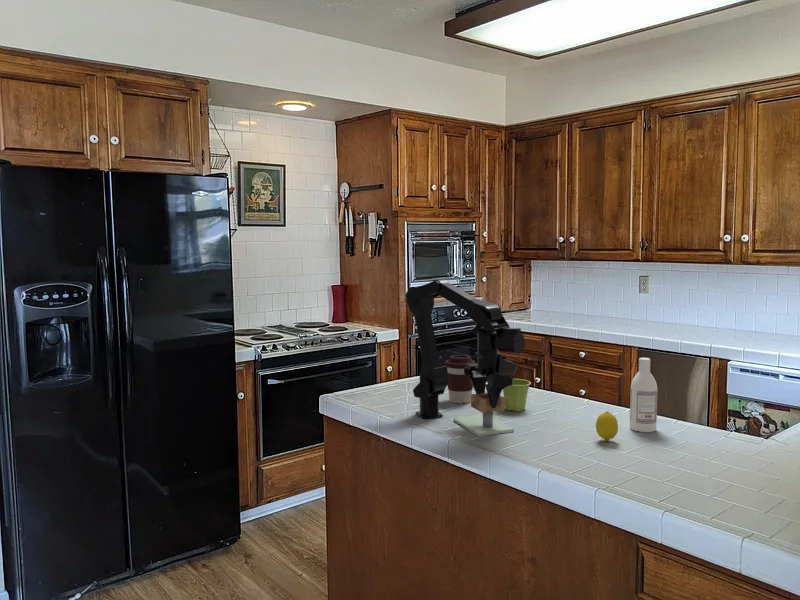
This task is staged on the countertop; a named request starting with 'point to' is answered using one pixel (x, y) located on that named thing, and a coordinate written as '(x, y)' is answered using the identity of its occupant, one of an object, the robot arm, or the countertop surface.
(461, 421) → the keeper board
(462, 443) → the countertop surface
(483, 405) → the link
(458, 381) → the coffee cup
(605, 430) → the lemon
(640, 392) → the bath foam
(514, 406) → the plant pot
